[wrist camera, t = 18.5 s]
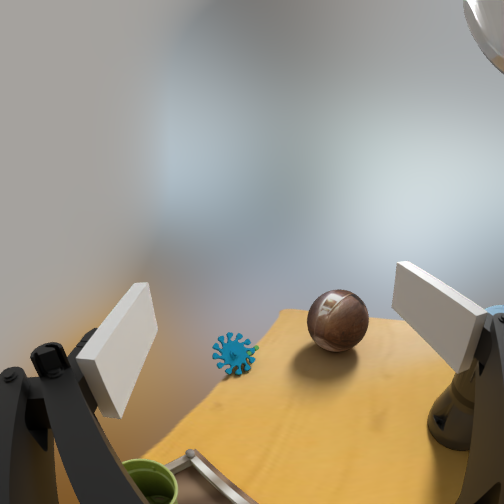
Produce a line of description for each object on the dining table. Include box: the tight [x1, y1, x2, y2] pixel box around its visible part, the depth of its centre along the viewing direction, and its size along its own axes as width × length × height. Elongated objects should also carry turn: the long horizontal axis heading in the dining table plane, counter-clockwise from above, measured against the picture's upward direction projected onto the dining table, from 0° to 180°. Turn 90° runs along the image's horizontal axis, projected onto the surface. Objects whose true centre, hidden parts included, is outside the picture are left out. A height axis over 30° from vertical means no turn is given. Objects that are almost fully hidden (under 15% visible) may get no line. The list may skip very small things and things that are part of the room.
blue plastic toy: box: [213, 332, 259, 375], centre depth 63 cm, size 11×6×10 cm
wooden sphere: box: [307, 290, 369, 352], centre depth 66 cm, size 15×15×15 cm
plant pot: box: [122, 459, 178, 504], centre depth 23 cm, size 9×9×9 cm
